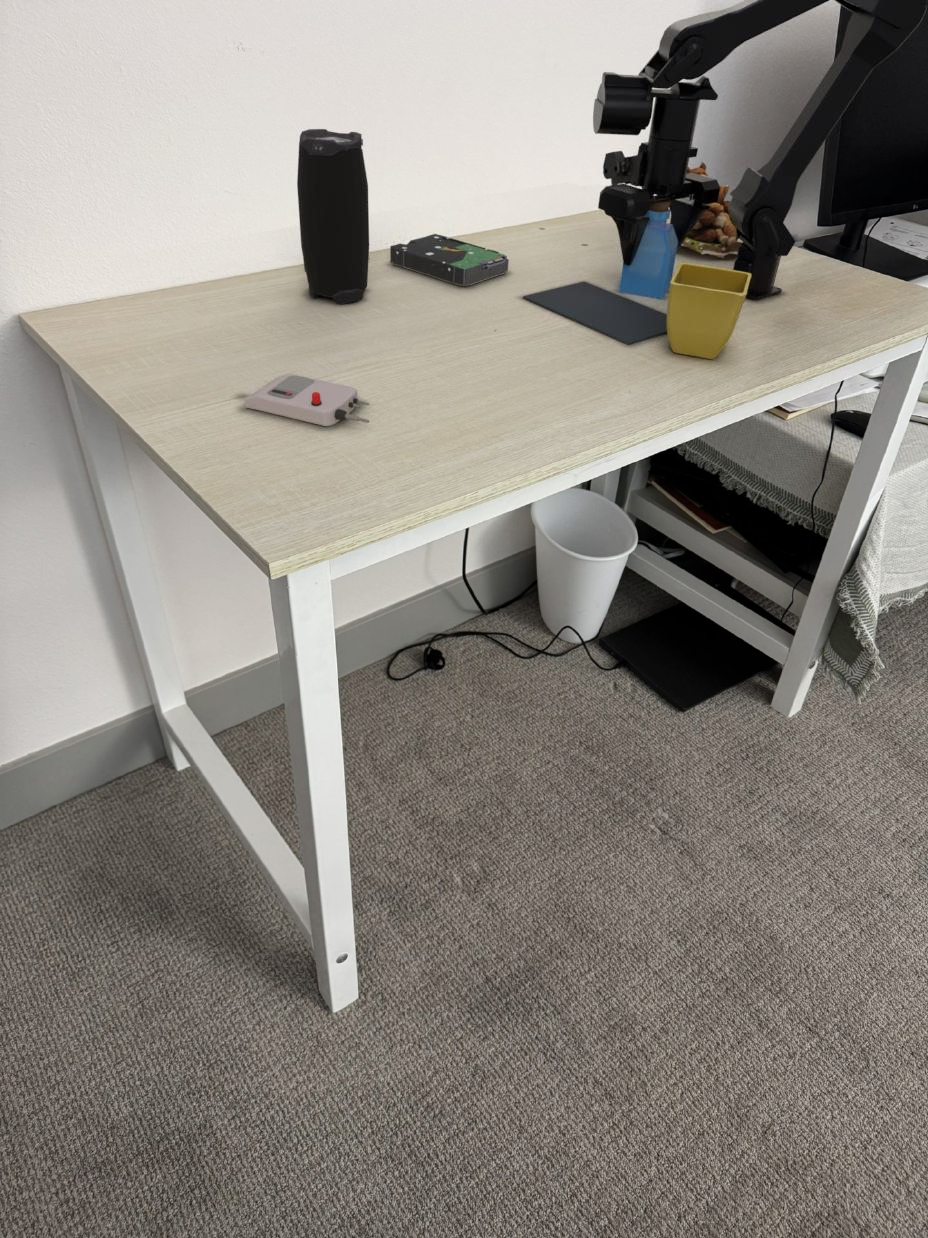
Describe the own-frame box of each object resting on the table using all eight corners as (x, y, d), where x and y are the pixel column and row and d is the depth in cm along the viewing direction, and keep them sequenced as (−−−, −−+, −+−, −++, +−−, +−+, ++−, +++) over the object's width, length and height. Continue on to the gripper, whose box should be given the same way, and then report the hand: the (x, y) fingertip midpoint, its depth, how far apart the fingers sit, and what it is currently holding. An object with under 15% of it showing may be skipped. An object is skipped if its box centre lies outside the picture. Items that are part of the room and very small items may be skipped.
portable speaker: (379, 288, 123) (376, 130, 110) (353, 310, 116) (348, 144, 103) (322, 279, 124) (313, 123, 112) (294, 300, 117) (281, 136, 105)
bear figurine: (692, 264, 137) (709, 179, 130) (643, 237, 148) (656, 157, 140) (764, 258, 141) (784, 175, 134) (711, 232, 152) (727, 154, 144)
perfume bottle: (618, 291, 126) (631, 201, 118) (629, 279, 130) (642, 192, 123) (661, 298, 124) (677, 207, 117) (670, 286, 129) (686, 197, 121)
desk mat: (584, 283, 128) (584, 281, 128) (690, 325, 116) (690, 323, 116) (522, 298, 122) (522, 295, 122) (628, 344, 110) (628, 342, 110)
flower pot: (735, 343, 112) (752, 271, 106) (728, 369, 105) (746, 293, 100) (666, 332, 114) (680, 261, 108) (655, 357, 107) (669, 282, 102)
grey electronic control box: (264, 381, 97) (261, 355, 95) (391, 410, 93) (391, 383, 91) (230, 404, 92) (226, 377, 91) (362, 436, 88) (361, 408, 86)
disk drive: (388, 265, 131) (465, 288, 124) (388, 246, 129) (465, 268, 122) (434, 251, 137) (509, 272, 130) (434, 232, 136) (510, 252, 128)
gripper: (671, 120, 124) (650, 236, 134) (577, 130, 115) (562, 254, 125) (734, 135, 118) (708, 255, 128) (640, 147, 108) (619, 276, 118)
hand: (649, 259), depth 125 cm, fingers open, 9 cm apart
